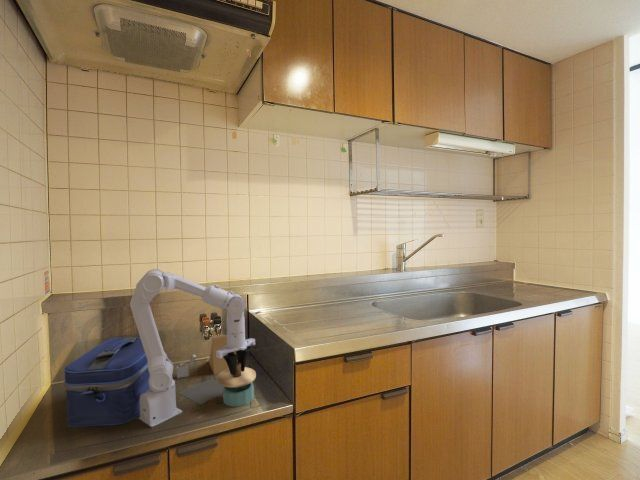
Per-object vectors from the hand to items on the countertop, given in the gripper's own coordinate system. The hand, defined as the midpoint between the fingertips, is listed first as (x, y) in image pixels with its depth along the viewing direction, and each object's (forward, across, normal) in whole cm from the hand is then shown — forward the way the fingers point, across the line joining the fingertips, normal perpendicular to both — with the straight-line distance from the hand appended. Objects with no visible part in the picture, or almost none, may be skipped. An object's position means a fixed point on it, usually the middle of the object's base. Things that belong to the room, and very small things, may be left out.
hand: (237, 372), depth 110 cm
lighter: (+9, 0, +30) cm, 31 cm away
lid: (+2, 0, 0) cm, 2 cm away
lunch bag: (+9, -24, +31) cm, 40 cm away
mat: (+9, -3, +13) cm, 16 cm away
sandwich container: (+9, +14, +27) cm, 32 cm away
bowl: (+9, 0, 0) cm, 9 cm away
